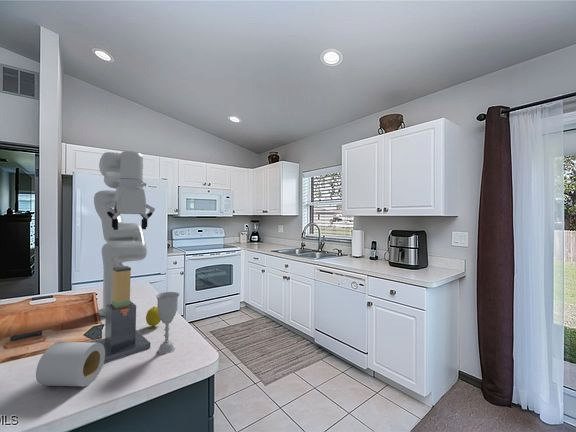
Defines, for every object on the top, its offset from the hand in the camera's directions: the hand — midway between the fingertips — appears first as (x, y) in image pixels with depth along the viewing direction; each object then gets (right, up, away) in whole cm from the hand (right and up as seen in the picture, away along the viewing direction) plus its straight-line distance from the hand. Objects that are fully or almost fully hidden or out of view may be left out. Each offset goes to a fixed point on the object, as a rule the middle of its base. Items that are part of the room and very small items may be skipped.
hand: (130, 229), depth 102 cm
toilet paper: (+4, -39, -32) cm, 50 cm away
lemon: (+7, -39, +3) cm, 40 cm away
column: (+5, -31, -13) cm, 34 cm away
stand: (+4, -39, -13) cm, 41 cm away
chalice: (+20, -39, -14) cm, 46 cm away
